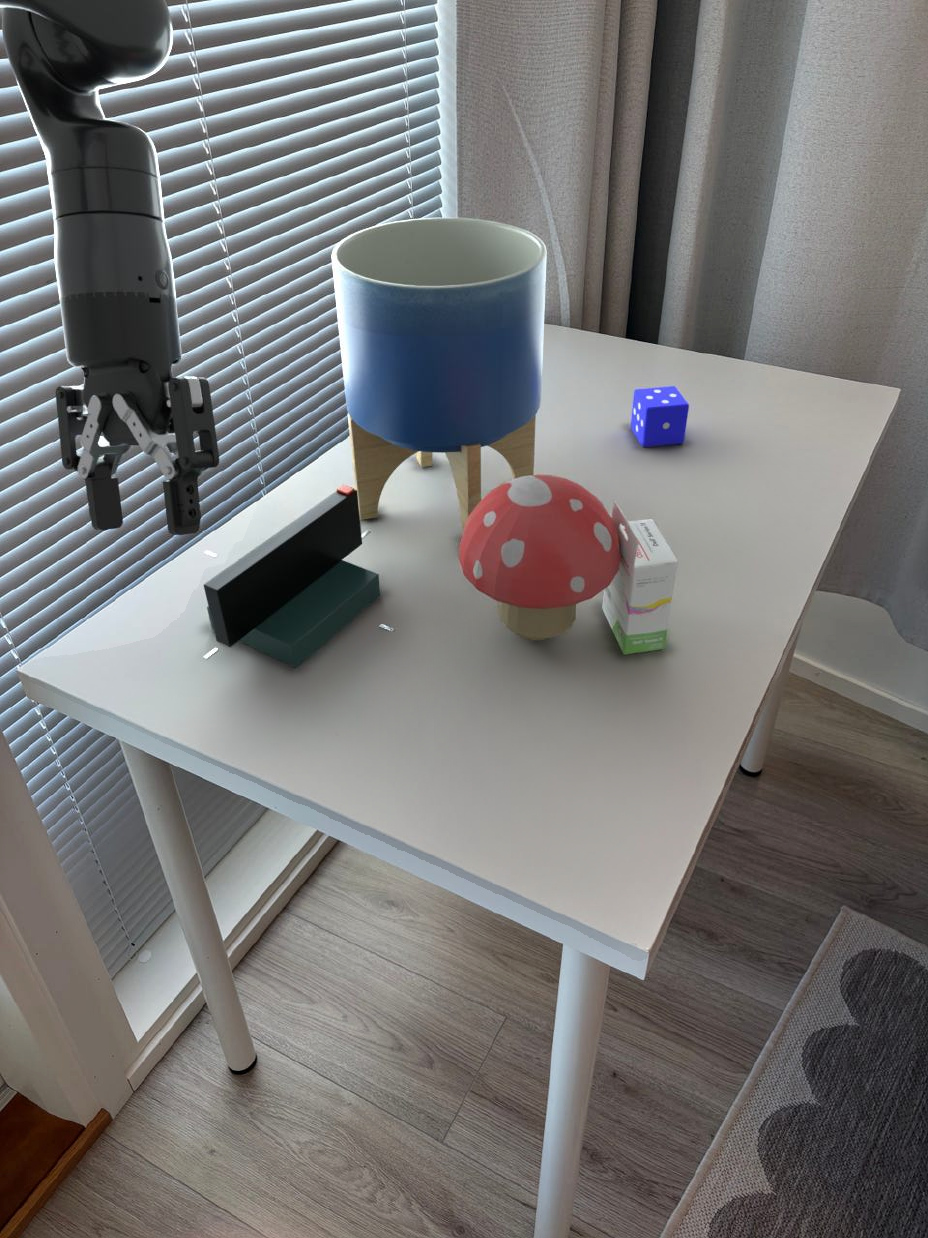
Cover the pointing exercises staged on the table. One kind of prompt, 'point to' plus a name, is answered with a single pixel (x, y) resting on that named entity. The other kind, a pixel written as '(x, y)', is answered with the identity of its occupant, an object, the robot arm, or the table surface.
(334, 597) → the dark green rectangular piece
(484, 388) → the planter
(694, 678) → the table surface
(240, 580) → the black slab
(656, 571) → the ink box
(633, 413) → the die
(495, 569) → the decorative mushroom
